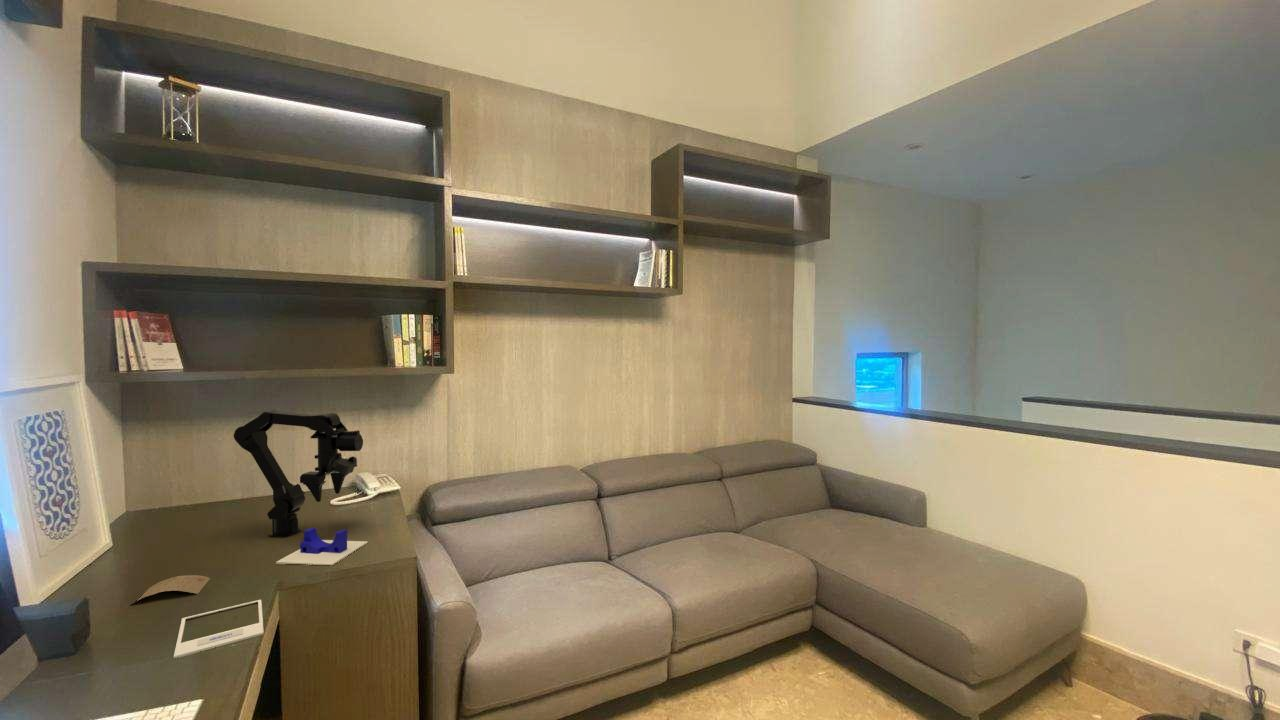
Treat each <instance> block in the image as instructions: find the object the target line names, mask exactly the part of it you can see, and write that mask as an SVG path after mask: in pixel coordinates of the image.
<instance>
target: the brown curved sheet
mask: <svg viewBox="0 0 1280 720" xmlns="http://www.w3.org/2000/svg"><path fill="white" fill-rule="evenodd" d="M210 579H211V578H210V577H208V576H205V575H197V574H196V575H194V574H193V575H191V574H189V575H179V576H173V577H170V578H168V579H163V580H162V581H161V580H160V581H159V582H157V583H155V584H153V585H152V586H150V587H149V588H147V589H148V590H147V589H146V590H147V591H146V590H145V591H146V592H145V591H144V592H145V593H144V592H143V593H144V594H143V593H142V594H143V595H142V594H141V595H142V596H141V595H140V596H141V597H140V596H139V597H140V598H139V597H138V598H139V599H138V598H137V599H138V600H137V599H136V600H137V601H136V602H138V601H139V600H140V601H141V600H142V599H144V598H146V597H149V596H153V595H156V594H158V593H159V594H160V593H162V592H171V591H178V592H186V593H190V594H192V593H193V594H196V595H199V593H200V591H201V590H202V589H203V588H204V586H206V585H207V583H208V582H209V581H210ZM136 602H135V601H134V602H133V604H135V603H136Z"/></svg>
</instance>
